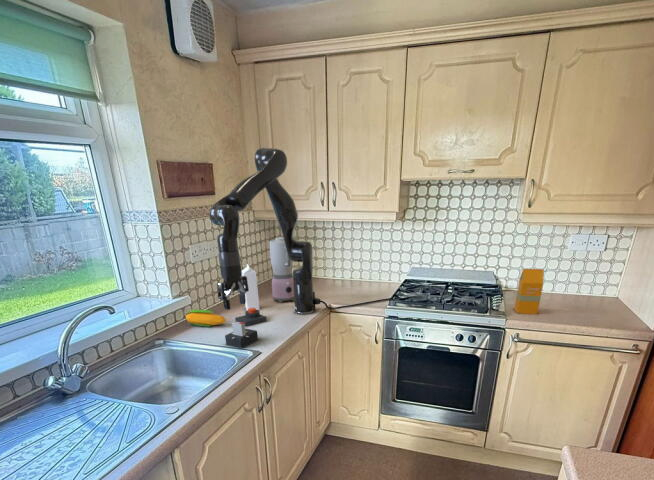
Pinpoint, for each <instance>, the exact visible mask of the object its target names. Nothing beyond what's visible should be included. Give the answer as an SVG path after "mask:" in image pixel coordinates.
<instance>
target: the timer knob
mask: <svg viewBox="0 0 654 480" xmlns="http://www.w3.org/2000/svg"><path fill="white" fill-rule="evenodd" d="M245 329H246V327H245V324H244V322H236V321H233V322H232V332H234V335H238V336H245V335H246V333H245Z"/></svg>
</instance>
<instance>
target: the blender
mask: <svg viewBox="0 0 654 480" xmlns="http://www.w3.org/2000/svg"><path fill="white" fill-rule="evenodd" d="M269 257H270V264H271V268H272V272H273V273H272V274H273V277H272V279H271V290H272V299H273V300H274V301H278V303H280V304H283V301H291V302H294V286H293V264H294V263H293V262H294V261H291V260H290V258H289V256H288V253H287V250H286V246H285V242H284V238H283V236H282V237H280V236H279V237H275V238H274V239H271V240H270V241H269Z"/></svg>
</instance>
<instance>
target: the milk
mask: <svg viewBox="0 0 654 480" xmlns="http://www.w3.org/2000/svg"><path fill="white" fill-rule="evenodd" d="M241 270H242V276H246V277H247V282H248V288H249V291H248V292H246V294H245V299H246V302H245V304H244V305H245V307H244V308H245V309H246V311H248V309H249V308H256V310H259V311H260V310H261V308H260V299H259V290H258V279H257V278H258V277H257V272H256V270H255V269H252V268H250V265H249V264H248V263H246V267H245V268H243V269H241ZM244 287H245V285H244Z"/></svg>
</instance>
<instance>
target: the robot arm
mask: <svg viewBox="0 0 654 480" xmlns="http://www.w3.org/2000/svg"><path fill="white" fill-rule="evenodd" d="M254 164H255V165H254V166H255V168H256V172H254V173H253V174H251V175H249V176H248V177H245V178H244V179H243V180H241V181H240V182H239V183H238V184H236V186H234V188H233V189H232V190H231V191H230V192H229V193H228V194H227V195H224V196H223V197H222V198H220V199H219V200H218V201H216V202H215V203H213V205H212V206H211V207H210V209H209V213H208V215H209V220H210V222H211V223H212V224H213V225H215V226H220V227H223V229H222V233H219V234H217V237H216V242H217V251H218V262H219V270H220V276H221V278H222V282H217V283H216V290H217V299H219V300H222V302H223V303H222V304H223V309H224V310H227V311H229V310H231V301H230V298H231V295H233V293H234V292H236V291H237V293H239V294H238V298H239V303H240V304H241V305H245V302H246V299H245V294H246V292H248V291H249V288H248V282H247V277H246V276H242V270H243V269H242V262H241V256H240V255H241V254H240V250H239V243H238V242H239V241H238V235H239V229H240V222H241V221H240V219H241V218H240V214H239V212H241V211H244V210H245V209H246V208H247V207H248V206H249V204H251V202H252V201H253V200H254V199H255V197H257V196H258V195H259V193H260V192H261V191H263V190H264V189H265V190H266V193H267V195H268V198H269V201H270V203H271V206H272V210H273V212H274V215H275V218H276V219H277V223H278V225H279V228H280V231H281V234H282V237H283V238H284V242H285V246H286V250H287V253H288V256H289V258H290V260H291V261H293V262H295V263H302V266H301V267H299V268H296V269H294V270H292V276H293V286H294V301H293V302H294V305H293V309H294V313H296V314H299V315H309V314H312V313H314V312H316V306H317V305H321V304H324V306H325V308H327V309H329V310H338V309H345V308H350V307H357V306H362V305H368V304H372V303H373V304H374V303H378V302H384V301H385V302H386V301H392V300H393V299H392V298H393V297H387V298H380V299H375V300H370V301H364V302H359V303H354V304H353V303H352V304H347V305H342V306H336V307H330V306H328V304H327V303H326V302H325V301H323V300H322V299H321V298H318V297H316V292H315V291H314V281H313V280H314V279H313V271H314V248H313V244H312V243H311V242H310V241H308V240H307V241H304V240H303V241H302V240H296V238H295V233H294V232H295V230H296V229H295V228H296V226H297V223H298V220H299V212H298V210H297V206H296V203H295V201H294V199H293V197H292V196H291V194H290V193H289V192H288V191H287V190H286V189H285V187H283V185H282V184H281V182H280V180H279V179H278V178H280V177H281V176H282V175H284V173H285V172H286V170H287V167H288V157H287V155H286V153H285V151H283V150H282V149H279V148H272V147H259V148H257V149H256V151H255V153H254ZM244 285H245V287H244Z"/></svg>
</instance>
